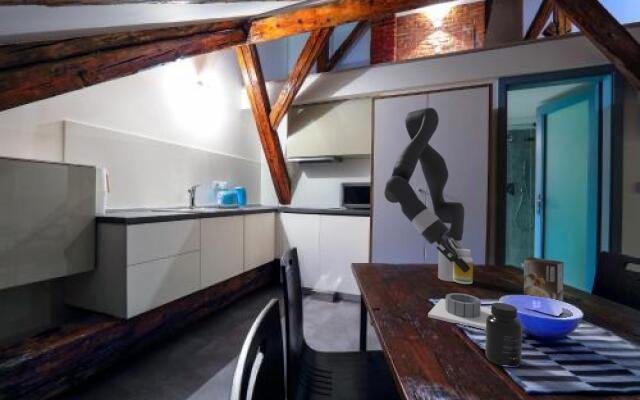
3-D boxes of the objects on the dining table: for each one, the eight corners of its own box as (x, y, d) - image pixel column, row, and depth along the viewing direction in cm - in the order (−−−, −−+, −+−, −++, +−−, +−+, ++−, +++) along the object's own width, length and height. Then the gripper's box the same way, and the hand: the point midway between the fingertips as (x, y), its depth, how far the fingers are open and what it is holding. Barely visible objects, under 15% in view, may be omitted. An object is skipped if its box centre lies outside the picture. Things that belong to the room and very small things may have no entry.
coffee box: (564, 313, 93) (565, 261, 93) (557, 318, 89) (559, 264, 89) (529, 304, 100) (530, 256, 100) (522, 308, 97) (523, 258, 96)
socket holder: (441, 301, 102) (441, 286, 102) (495, 312, 93) (495, 296, 93) (427, 316, 89) (428, 300, 89) (489, 331, 80) (489, 313, 80)
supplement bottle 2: (478, 352, 69) (479, 300, 69) (506, 351, 70) (507, 300, 70) (498, 369, 62) (499, 312, 62) (529, 368, 63) (530, 311, 63)
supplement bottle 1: (474, 285, 88) (475, 251, 87) (455, 283, 89) (456, 250, 88) (469, 279, 93) (470, 248, 93) (451, 278, 94) (451, 247, 94)
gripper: (432, 219, 89) (476, 265, 82) (443, 217, 101) (483, 257, 94) (413, 235, 92) (454, 281, 85) (427, 231, 104) (464, 271, 97)
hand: (469, 268), depth 90 cm, fingers closed on supplement bottle 1, 5 cm apart
